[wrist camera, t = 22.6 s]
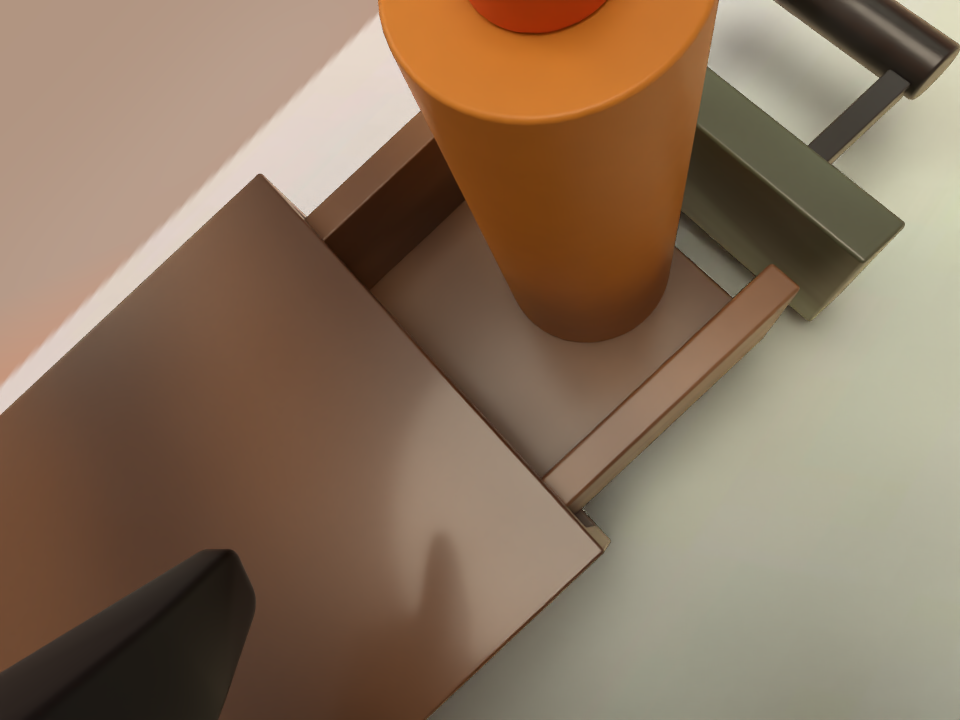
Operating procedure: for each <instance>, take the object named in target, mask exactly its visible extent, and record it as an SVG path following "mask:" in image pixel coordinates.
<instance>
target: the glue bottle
mask: <svg viewBox="0 0 960 720" xmlns="http://www.w3.org/2000/svg"><path fill="white" fill-rule="evenodd" d="M718 2H719V0H378V5H379V16H380V20H381V24H382V28H383V33H384V35H385V38H386V40H387V43H388V45H389V48H390V50H391V52H392V54H393V56H394V58H395V60H396V62H397V64H398V66H399V68H400V70H401V72H402V74H403V76H404V78H405V80H406V82H407V84H408V86H409V88H410V90H411V92H412V94H413V96H414V98H415V100H416V102H417V104H418V106H419V108H420V110H421V112H422V114H423V116H424V118H425V120H426V122H427V124H428V126H429V128H430V130H431V132H432V134H433V136H434V138H435V140H436V142H437V144H438V146H439V148H440V150H441V152H442V154H443V156H444V158H445V160H446V162H447V164H448V166H449V168H450V170H451V172H452V174H453V176H454V178H455V180H456V182H457V184H458V186H459V188H460V190H461V192H462V194H463V196H464V198H465V200H466V202H467V204H468V206H469V208H470V210H471V212H472V214H473V216H474V218H475V220H476V222H477V224H478V226H479V228H480V230H481V232H482V234H483V236H484V238H485V240H486V242H487V244H488V246H489V248H490V250H491V252H492V254H493V256H494V258H495V260H496V262H497V264H498V266H499V268H500V270H501V272H502V274H503V276H504V278H505V280H506V282H507V284H508V286H509V288H510V290H511V292H512V294H513V296H514V298H515V300H516V302H517V303H518V305H519V307H520V308H521V310H522V311H523V312H524V314H525V315H526V316H527V317H528V318H529V319H530V320H531V321H532V322H533V323H534V324H535V325H536V326H538V327H539V328H540V329H542V330H543V331H545V332H547V333H549V334H551V335H553V336H556V337H558V338H561V339H564V340H568V341H574V342H599V341H605V340H609V339H612V338H615V337H618V336H620V335H623V334H625V333H627V332H628V331H630V330H632V329H634V328H635V327H636V326H638V325H639V324H640V323H642V322H643V321H644V320H645V319H646V318H647V317H648V316H649V315H650V314H651V313H652V311H653V310H654V309H655V308H656V306H657V305H658V303H659V301H660V300H661V298H662V296H663V294H664V291H665V289H666V286H667V282H668V278H669V273H670V268H671V262H672V257H673V251H674V246H675V240H676V235H677V229H678V224H679V218H680V213H681V207H682V202H683V196H684V190H685V185H686V179H687V174H688V168H689V163H690V157H691V152H692V146H693V141H694V135H695V130H696V124H697V119H698V113H699V107H700V102H701V96H702V91H703V85H704V80H705V74H706V69H707V63H708V58H709V52H710V47H711V41H712V36H713V30H714V24H715V19H716V13H717V8H718Z"/></svg>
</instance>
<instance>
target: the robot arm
mask: <svg viewBox="0 0 960 720" xmlns="http://www.w3.org/2000/svg"><path fill="white" fill-rule="evenodd" d="M255 608H256V596H255V591H254V588H253V586H252V584H251V582H250V580H249V577H248V575H247V573H246V571H245V569H244V566H243V564H242V562H241V560H240V558H239V556H238V554H237V553H236V552H235V551H234V550H231V549H205V550H202V551H200V552H198V553H196V554H195V555H193V556H191V557H190V558H188V559H186V560H185V561H183V562H181V563H180V564H178V565H176V566H175V567H173V568H172V569H170V570H168V571H167V572H165V573H163V574H162V575H160V576H158V577H157V578H155V579H153V580H152V581H150V582H149V583H147V584H145V585H144V586H142V587H140V588H139V589H137V590H135V591H134V592H132V593H130V594H129V595H127V596H126V597H124V598H122V599H121V600H119V601H117V602H116V603H114V604H112V605H111V606H109V607H107V608H106V609H104V610H103V611H101V612H99V613H98V614H96V615H94V616H93V617H91V618H89V619H88V620H86V621H84V622H83V623H81V624H80V625H78V626H76V627H75V628H73V629H71V630H70V631H68V632H66V633H65V634H63V635H61V636H60V637H58V638H57V639H55V640H53V641H52V642H50V643H48V644H47V645H45V646H43V647H42V648H40V649H38V650H37V651H35V652H34V653H32V654H30V655H29V656H27V657H25V658H24V659H22V660H20V661H19V662H17V663H15V664H14V665H12V666H11V667H9V668H7V669H6V670H4V671H2V672H1V673H0V720H218V719H219V716H220V714H221V711H222V708H223V706H224V703H225V700H226V697H227V694H228V691H229V688H230V685H231V683H232V680H233V677H234V674H235V671H236V668H237V665H238V662H239V659H240V656H241V653H242V650H243V647H244V644H245V641H246V638H247V635H248V632H249V629H250V626H251V623H252V620H253V617H254V614H255Z"/></svg>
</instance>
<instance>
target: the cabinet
mask: <svg viewBox="0 0 960 720" xmlns="http://www.w3.org/2000/svg"><path fill="white" fill-rule="evenodd" d="M306 217H307V216H306V215H305V214H304V213H303V212H301V211H300V210H299V209H298V208H297V207H296V206H295V205H294V204H293V203H292V202H291V201H290V200H289V199H288V198H287V197H286V196H285V195H284V194H282V193H281V192H280V191H279V190H278V189H277V188H276V187H275V186H274V185H273V184H272V183H271V182H270V181H269V180H268V179H267V178H266V177H265V176H264V175H262V174H258V175H257V176H256V177H255V178H254V179H253V180H252V181H250V182H249V183H248V184H247V185H246V186H245V187H244V188H243V189H242V190H241V191H240V192H239V193H238V194H237V195H235V196H234V197H233V198H232V199H231V200H230V201H229V202H228V203H227V204H226V205H225V206H224V207H223V208H222V209H220V210H219V211H218V212H217V213H216V214H215V215H214V216H213V217H212V218H211V219H210V220H209V221H208V222H207V223H206V224H204V225H203V226H202V227H201V228H200V229H199V230H198V231H197V232H196V233H195V234H194V235H193V236H192V237H191V238H189V239H188V240H187V241H186V242H185V243H184V244H183V245H182V246H181V247H180V248H179V249H178V250H177V251H176V252H174V253H173V254H172V255H171V256H170V257H169V258H168V259H167V260H166V261H165V262H164V263H163V264H162V265H161V266H159V267H158V268H157V269H156V270H155V271H154V272H153V273H152V274H151V275H150V276H149V277H148V278H147V279H146V280H144V281H143V282H142V283H141V284H140V285H139V286H138V287H137V288H136V289H135V290H134V291H133V292H132V293H131V294H130V295H128V296H127V297H126V298H125V299H124V300H123V301H122V302H121V303H120V304H119V305H118V306H117V307H116V308H115V309H113V310H112V311H111V312H110V313H109V314H108V315H107V316H106V317H105V318H104V319H103V320H102V321H101V322H100V323H98V324H97V325H96V326H95V327H94V328H93V329H92V330H91V331H90V332H89V333H88V334H87V335H86V336H85V337H83V338H82V339H81V340H80V341H79V342H78V343H77V344H76V345H75V346H74V347H73V348H72V349H71V350H70V351H68V352H67V353H66V354H65V355H64V356H63V357H62V358H61V359H60V360H59V361H58V362H57V363H56V364H55V365H53V366H52V367H51V368H50V369H49V370H48V371H47V372H46V373H45V374H44V375H43V376H42V377H41V378H40V379H39V380H37V381H36V382H35V383H34V384H33V385H32V386H31V387H30V388H29V389H28V390H27V391H26V392H25V393H24V394H22V395H21V396H20V397H19V398H18V399H17V400H16V401H15V402H14V403H13V404H12V405H11V406H10V407H9V408H7V409H6V410H5V411H4V412H3V413H2V414H1V415H0V673H1V672H2V671H4V670H6V669H7V668H9V667H11V666H12V665H14V664H15V663H17V662H19V661H20V660H22V659H24V658H25V657H27V656H29V655H30V654H32V653H34V652H35V651H37V650H38V649H40V648H42V647H43V646H45V645H47V644H48V643H50V642H52V641H53V640H55V639H57V638H58V637H60V636H61V635H63V634H65V633H66V632H68V631H70V630H71V629H73V628H75V627H76V626H78V625H80V624H81V623H83V622H84V621H86V620H88V619H89V618H91V617H93V616H94V615H96V614H98V613H99V612H101V611H103V610H104V609H106V608H107V607H109V606H111V605H112V604H114V603H116V602H117V601H119V600H121V599H122V598H124V597H126V596H127V595H129V594H130V593H132V592H134V591H135V590H137V589H139V588H140V587H142V586H144V585H145V584H147V583H149V582H150V581H152V580H153V579H155V578H157V577H158V576H160V575H162V574H163V573H165V572H167V571H168V570H170V569H172V568H173V567H175V566H176V565H178V564H180V563H181V562H183V561H185V560H186V559H188V558H190V557H191V556H193V555H195V554H196V553H198V552H200V551H202V550H205V549H231V550H234V551H235V552H236V553H237V554H238V556H239V558H240V560H241V562H242V564H243V566H244V569H245V571H246V573H247V575H248V577H249V580H250V582H251V584H252V586H253V588H254V591H255V596H256V608H255V614H254V617H253V620H252V623H251V626H250V629H249V632H248V635H247V638H246V641H245V644H244V647H243V650H242V653H241V656H240V659H239V662H238V665H237V668H236V671H235V674H234V677H233V680H232V683H231V685H230V688H229V691H228V694H227V697H226V700H225V703H224V706H223V708H222V711H221V714H220V716H219V719H218V720H426V719H427V718H429V717H430V716H431V715H432V714H433V713H434V712H435V711H436V710H437V709H438V708H439V707H440V706H441V705H442V704H443V703H445V702H446V701H447V700H448V699H449V698H450V697H451V696H452V695H453V694H454V693H455V692H456V691H457V690H458V689H459V688H460V687H462V686H463V685H464V684H465V683H466V682H467V681H468V680H469V679H470V678H471V677H472V676H473V675H474V674H475V673H476V672H478V671H479V670H480V669H481V668H482V667H483V666H484V665H485V664H486V663H487V662H488V661H489V660H490V659H491V658H492V657H494V656H495V655H496V654H497V653H498V652H499V651H500V650H501V649H502V648H503V647H504V646H505V645H506V644H507V643H508V642H510V641H511V640H512V639H513V638H514V637H515V636H516V635H517V634H518V633H519V632H520V631H521V630H522V629H523V628H524V627H525V626H527V625H528V624H529V623H530V622H531V621H532V620H533V619H534V618H535V617H536V616H537V615H538V614H539V613H540V612H541V611H543V610H544V609H545V608H546V607H547V606H548V605H549V604H550V603H551V602H552V601H553V600H554V599H555V598H556V597H557V596H559V595H560V594H561V593H562V592H563V591H564V590H565V589H566V588H567V587H568V586H569V585H570V584H571V583H572V582H573V581H574V580H576V579H577V578H578V577H579V576H580V575H581V574H582V573H583V572H584V571H585V570H586V569H587V568H588V567H589V566H590V565H592V564H593V563H594V562H595V561H596V560H597V559H598V558H599V557H600V556H601V555H602V554H603V553H604V551H605V550H606V548H607V547H608V545H609V544H610V542H611V541H610V539H609V538H608V537H607V536H606V535H605V534H604V532H603V531H602V530H601V529H600V528H599V527H598V526H597V525H596V524H595V523H594V522H593V520H592V519H591V518H590V517H589V516H588V515H587V514H586V513H585V512H584V511H583V510H582V509H581V510H580V511H578V512H577V513H576V514H575V515H574V514H573V513H572V512H571V511H570V509H569V508H568V507H567V506H566V505H565V504H564V503H563V502H562V501H561V500H560V499H559V497H558V496H557V495H556V494H555V493H554V492H553V491H552V490H551V489H550V488H549V486H548V485H547V484H546V483H545V482H544V481H543V480H542V479H541V478H540V477H539V476H538V474H537V473H536V472H535V471H534V470H533V469H532V468H531V467H530V466H529V465H528V463H527V462H526V461H525V460H524V459H523V458H522V457H521V456H520V455H519V454H518V453H517V451H516V450H515V449H514V448H513V447H512V446H511V445H510V444H509V443H508V442H507V440H506V439H505V438H504V437H503V436H502V435H501V434H500V433H499V432H498V431H497V429H496V428H495V427H494V426H493V425H492V424H491V423H490V422H489V421H488V420H487V419H486V417H485V416H484V415H483V414H482V413H481V412H480V411H479V410H478V409H477V408H476V406H475V405H474V404H473V403H472V402H471V401H470V400H469V399H468V398H467V397H466V396H465V394H464V393H463V392H462V391H461V390H460V389H459V388H458V387H457V386H456V385H455V383H454V382H453V381H452V380H451V379H450V378H449V377H448V376H447V375H446V374H445V373H444V371H443V370H442V369H441V368H440V367H439V366H438V365H437V364H436V363H435V362H434V360H433V359H432V358H431V357H430V356H429V355H428V354H427V353H426V352H425V351H424V350H423V348H422V347H421V346H420V345H419V344H418V343H417V342H416V341H415V340H414V339H413V337H412V336H411V335H410V334H409V333H408V332H407V331H406V330H405V329H404V328H403V327H402V325H401V324H400V323H399V322H398V321H397V320H396V319H395V318H394V317H393V316H392V314H391V313H390V312H389V311H388V310H387V309H386V308H385V307H384V306H383V305H382V304H381V302H380V301H379V300H378V299H377V298H376V297H375V296H374V295H373V294H372V293H371V291H370V290H369V289H368V288H367V287H366V286H365V285H364V284H363V283H362V282H361V280H360V279H359V278H358V277H357V276H356V275H355V274H354V273H353V272H352V271H351V270H350V268H349V267H348V266H347V265H346V264H345V263H344V262H343V261H342V260H341V259H340V257H339V256H338V255H337V254H336V253H335V252H334V251H333V250H332V249H331V248H330V247H329V245H328V244H327V243H326V242H325V241H324V240H323V239H322V238H321V237H320V236H319V234H318V233H317V232H316V231H315V230H314V229H313V228H312V227H311V226H310V225H309V224H308V222H307V221H306V220H305V218H306Z"/></svg>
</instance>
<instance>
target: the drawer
mask: <svg viewBox="0 0 960 720" xmlns="http://www.w3.org/2000/svg"><path fill="white" fill-rule="evenodd" d="M773 1H775V2H776V3H777V4H779V5H780V6H782V7H783V8H784V9H786V10H787V11H788V12H790V13H791V14H793V15H794V16H795V17H797V18H798V19H799V20H801V21H802V22H803V23H805V24H806V25H808V26H809V27H810V28H812V29H813V30H814V31H816V32H817V33H819V34H820V35H821V36H823V37H824V38H825V39H827V40H828V41H829V42H831V43H832V44H834V45H835V46H836V47H838V48H839V49H840V50H842V51H843V52H845V53H846V54H847V55H849V56H850V57H851V58H853V59H854V60H856V61H857V62H858V63H860V64H861V65H862V66H864V67H865V68H866V69H868V70H869V71H871V72H872V73H873V74H875V75H876V76H877V77H879V79H878V80H877V81H876V82H875V83H874V84H873V85H872V86H871V87H870V88H869V89H868V90H866V91H865V92H864V93H863V94H862V95H861V96H860V97H859V98H858V99H857V100H856V101H855V102H854V103H853V104H851V105H850V106H849V107H848V108H847V109H846V110H845V111H844V112H843V113H842V114H841V115H840V116H839V117H838V118H837V119H835V120H834V121H833V122H832V123H831V124H830V125H829V126H828V127H827V128H826V129H825V130H824V131H823V132H822V133H821V134H819V135H818V136H817V137H816V138H815V139H814V140H813V141H812V142H811V143H810V144H809V145H808V146H807V145H806V144H805V143H803V142H802V141H801V140H800V139H798V138H797V137H796V136H794V135H793V134H792V133H791V132H789V131H788V130H787V129H786V128H784V127H783V126H782V125H781V124H779V123H778V122H777V121H775V120H774V119H773V118H772V117H770V116H769V115H768V114H767V113H765V112H764V111H763V110H762V109H760V108H759V107H758V106H756V105H755V104H754V103H753V102H751V101H750V100H749V99H748V98H746V97H745V96H744V95H743V94H741V93H740V92H739V91H737V90H736V89H735V88H734V87H732V86H731V85H730V84H729V83H727V82H726V81H725V80H723V79H722V78H721V77H720V76H718V75H717V74H716V73H715V72H713V71H712V70H711V69H710V68H708V67H707V69H706V74H705V80H704V85H703V91H702V96H701V102H700V107H699V113H698V119H697V124H696V130H695V135H694V141H693V146H692V152H691V157H690V163H689V168H688V174H687V179H686V185H685V190H684V196H683V202H682V207H681V211H682V212H683V213H684V214H686V215H687V216H688V217H689V218H690V219H691V220H692V221H694V222H695V223H696V224H697V225H698V226H699V227H700V228H702V229H703V230H704V231H705V232H706V233H707V234H708V235H710V236H711V237H712V238H713V239H714V240H715V241H716V242H718V243H719V244H720V245H721V246H722V247H723V248H724V249H726V250H727V251H728V252H729V253H730V254H731V255H732V256H734V257H735V258H736V259H737V260H738V261H739V262H740V263H742V264H743V265H744V266H745V267H746V268H747V269H748V270H750V271H751V272H752V273H753V274H754V275H755V276H756V277H755V278H754V279H753V280H752V281H751V282H750V283H749V284H748V285H747V286H745V287H744V288H743V289H742V290H741V291H740V292H739V293H738V294H737V295H736V296H735V297H734V298H732V297H731V296H730V295H729V294H728V293H727V292H726V291H725V290H723V289H722V288H721V287H720V286H719V285H718V284H717V283H716V282H715V281H713V280H712V279H711V278H710V277H709V276H708V275H707V274H706V273H705V272H703V271H702V270H701V269H700V268H699V267H698V266H697V265H696V264H694V263H693V262H692V261H691V260H690V259H689V258H688V257H687V256H686V255H684V254H683V253H682V252H681V251H680V250H679V249H678V248H677V247H676V246H674V251H673V257H672V262H671V268H670V273H669V278H668V282H667V286H666V289H665V291H664V294H663V296H662V298H661V300H660V301H659V303H658V305H657V306H656V308H655V309H654V310H653V311H652V313H651V314H650V315H649V316H648V317H647V318H646V319H645V320H644V321H643V322H642V323H640V324H639V325H638V326H636V327H635V328H634V329H632V330H630V331H628V332H627V333H625V334H623V335H620V336H618V337H615V338H612V339H609V340H605V341H599V342H574V341H568V340H564V339H561V338H558V337H556V336H553V335H551V334H549V333H547V332H545V331H543V330H542V329H540V328H539V327H538V326H536V325H535V324H534V323H533V322H532V321H531V320H530V319H529V318H528V317H527V316H526V315H525V314H524V312H523V311H522V310H521V308H520V307H519V305H518V303H517V302H516V300H515V298H514V296H513V294H512V292H511V290H510V288H509V286H508V284H507V282H506V280H505V278H504V276H503V274H502V272H501V270H500V268H499V266H498V264H497V262H496V260H495V258H494V256H493V254H492V252H491V250H490V248H489V246H488V244H487V242H486V240H485V238H484V236H483V234H482V232H481V230H480V228H479V226H478V224H477V222H476V220H475V218H474V216H473V214H472V212H471V210H470V208H469V206H468V204H467V202H466V200H465V198H464V196H463V194H462V192H461V190H460V188H459V186H458V184H457V182H456V180H455V178H454V176H453V174H452V172H451V170H450V168H449V166H448V164H447V162H446V160H445V158H444V156H443V154H442V152H441V150H440V148H439V146H438V144H437V142H436V140H435V138H434V136H433V134H432V132H431V130H430V128H429V126H428V124H427V122H426V120H425V118H424V116H423V114H422V112H421V111H420V112H419V113H418V114H417V115H416V116H414V117H413V118H412V119H411V120H410V121H409V122H408V123H407V124H406V125H405V126H404V127H403V128H402V129H401V130H399V131H398V132H397V133H396V134H395V135H394V136H393V137H392V138H391V139H390V140H389V141H388V142H387V143H386V144H385V145H383V146H382V147H381V148H380V149H379V150H378V151H377V152H376V153H375V154H374V155H373V156H372V157H371V158H370V159H368V160H367V161H366V162H365V163H364V164H363V165H362V166H361V167H360V168H359V169H358V170H357V171H356V172H355V173H353V174H352V175H351V176H350V177H349V178H348V179H347V180H346V181H345V182H344V183H343V184H342V185H341V186H340V187H339V188H337V189H336V190H335V191H334V192H333V193H332V194H331V195H330V196H329V197H328V198H327V199H326V200H325V201H324V202H322V203H321V204H320V205H319V206H318V207H317V208H316V209H315V210H314V211H313V212H312V213H311V214H310V215H309V216H307V217H306V218H305V220H306V221H307V222H308V224H309V225H310V226H311V227H312V228H313V229H314V230H315V231H316V232H317V233H318V234H319V236H320V237H321V238H322V239H323V240H324V241H325V242H326V243H327V244H328V245H329V247H330V248H331V249H332V250H333V251H334V252H335V253H336V254H337V255H338V256H339V257H340V259H341V260H342V261H343V262H344V263H345V264H346V265H347V266H348V267H349V268H350V270H351V271H352V272H353V273H354V274H355V275H356V276H357V277H358V278H359V279H360V280H361V282H362V283H363V284H364V285H365V286H366V287H367V288H368V289H369V290H370V291H371V293H372V294H373V295H374V296H375V297H376V298H377V299H378V300H379V301H380V302H381V304H382V305H383V306H384V307H385V308H386V309H387V310H388V311H389V312H390V313H391V314H392V316H393V317H394V318H395V319H396V320H397V321H398V322H399V323H400V324H401V325H402V327H403V328H404V329H405V330H406V331H407V332H408V333H409V334H410V335H411V336H412V337H413V339H414V340H415V341H416V342H417V343H418V344H419V345H420V346H421V347H422V348H423V350H424V351H425V352H426V353H427V354H428V355H429V356H430V357H431V358H432V359H433V360H434V362H435V363H436V364H437V365H438V366H439V367H440V368H441V369H442V370H443V371H444V373H445V374H446V375H447V376H448V377H449V378H450V379H451V380H452V381H453V382H454V383H455V385H456V386H457V387H458V388H459V389H460V390H461V391H462V392H463V393H464V394H465V396H466V397H467V398H468V399H469V400H470V401H471V402H472V403H473V404H474V405H475V406H476V408H477V409H478V410H479V411H480V412H481V413H482V414H483V415H484V416H485V417H486V419H487V420H488V421H489V422H490V423H491V424H492V425H493V426H494V427H495V428H496V429H497V431H498V432H499V433H500V434H501V435H502V436H503V437H504V438H505V439H506V440H507V442H508V443H509V444H510V445H511V446H512V447H513V448H514V449H515V450H516V451H517V453H518V454H519V455H520V456H521V457H522V458H523V459H524V460H525V461H526V462H527V463H528V465H529V466H530V467H531V468H532V469H533V470H534V471H535V472H536V473H537V474H538V476H539V477H540V478H541V479H542V480H543V481H544V482H545V483H546V484H547V485H548V486H549V488H550V489H551V490H552V491H553V492H554V493H555V494H556V495H557V496H558V497H559V499H560V500H561V501H562V502H563V503H564V504H565V505H566V506H567V507H568V508H569V509H570V511H571V512H572V513H573V514H574V515H575V514H576V513H577V512H578V511H580V510H581V509H582V508H583V507H584V506H585V505H586V504H587V503H588V502H589V501H590V500H591V499H592V498H593V497H594V496H596V495H597V494H598V493H599V492H600V491H601V490H602V489H603V488H604V487H605V486H606V485H607V484H608V483H609V482H610V481H611V480H613V479H614V478H615V477H616V476H617V475H618V474H619V473H620V472H621V471H622V470H623V469H624V468H625V467H626V466H627V465H629V464H630V463H631V462H632V461H633V460H634V459H635V458H636V457H637V456H638V455H639V454H640V453H641V452H642V451H643V450H645V449H646V448H647V447H648V446H649V445H650V444H651V443H652V442H653V441H654V440H655V439H656V438H657V437H658V436H659V435H661V434H662V433H663V432H664V431H665V430H666V429H667V428H668V427H669V426H670V425H671V424H672V423H673V422H674V421H675V420H677V419H678V418H679V417H680V416H681V415H682V414H683V413H684V412H685V411H686V410H687V409H688V408H689V407H690V406H691V405H692V404H694V403H695V402H696V401H697V400H698V399H699V398H700V397H701V396H702V395H703V394H704V393H705V392H706V391H707V390H708V389H710V388H711V387H712V386H713V385H714V384H715V383H716V382H717V381H718V380H719V379H720V378H721V377H722V376H723V375H724V374H726V373H727V372H728V371H729V370H730V369H731V368H732V367H733V366H734V365H735V364H736V363H737V362H738V361H739V360H740V359H742V358H743V357H744V356H745V355H746V354H747V353H748V352H749V351H750V350H751V349H752V348H753V347H754V346H755V345H756V344H758V343H759V342H760V341H761V340H762V339H763V337H764V336H765V335H766V334H767V332H768V331H769V329H770V328H771V327H772V326H773V324H774V323H775V322H776V320H777V319H778V318H779V316H780V315H781V314H782V312H783V311H784V310H785V309H786V307H787V306H788V305H790V306H791V307H792V308H793V309H794V310H795V311H796V312H798V313H799V314H800V315H801V316H802V317H803V318H804V319H806V320H807V321H812V320H813V319H814V318H815V317H816V316H817V315H818V314H819V313H820V312H821V311H822V310H823V309H825V308H826V307H827V306H828V305H829V304H830V303H831V302H832V301H833V300H834V299H835V298H836V297H837V296H838V295H839V294H841V293H842V292H843V290H844V289H845V288H846V287H847V286H848V285H849V284H850V283H851V282H852V281H853V280H854V279H855V278H856V277H857V276H858V275H859V274H860V273H861V272H862V271H863V270H864V269H865V267H866V266H867V265H868V264H869V263H870V262H871V261H872V260H873V259H874V258H875V257H876V256H877V255H878V254H879V253H880V252H881V251H882V250H883V249H884V248H885V247H886V246H887V244H888V243H889V242H890V241H891V240H892V239H893V238H894V237H895V236H896V235H897V234H898V233H899V232H900V231H901V230H902V229H903V228H904V226H905V223H904V222H903V221H902V220H901V219H900V218H898V217H897V216H896V215H895V214H893V213H892V212H891V211H889V210H888V209H887V208H886V207H884V206H883V205H882V204H881V203H879V202H878V201H877V200H876V199H874V198H873V197H872V196H870V195H869V194H868V193H867V192H865V191H864V190H863V189H862V188H860V187H859V186H858V185H857V184H855V183H854V182H853V181H851V180H850V179H849V178H848V177H846V176H845V175H844V174H843V173H841V172H840V171H839V170H838V169H836V168H835V167H834V166H832V165H831V164H832V163H833V162H834V161H835V160H836V159H837V158H838V157H839V156H840V155H842V154H843V153H844V152H845V151H846V150H847V149H848V148H849V147H850V146H851V145H852V144H853V143H854V142H855V141H856V140H858V139H859V138H860V137H861V136H862V135H863V134H864V133H865V132H866V131H867V130H868V129H869V128H870V127H871V126H872V125H874V124H875V123H876V122H877V121H878V120H879V119H880V118H881V117H882V116H883V115H884V114H885V113H886V112H887V111H888V110H890V109H891V108H892V107H893V106H894V105H895V104H896V103H897V102H898V101H899V100H900V99H901V98H902V97H903V96H905V97H906V98H908V99H910V100H913V99H915V98H917V97H918V96H920V95H921V94H922V93H923V92H924V91H925V90H927V89H928V88H929V87H930V86H931V85H932V84H933V83H934V82H935V81H936V80H937V79H938V77H939V76H940V75H941V74H942V73H943V72H944V71H945V70H946V69H947V67H948V66H949V65H950V64H951V63H952V61H953V60H954V59H955V57H956V56H957V55H958V53H959V51H960V45H959V44H958V43H957V42H955V41H954V40H952V39H951V38H949V37H948V36H946V35H945V34H943V33H942V32H941V31H939V30H938V29H936V28H935V27H933V26H932V25H930V24H929V23H927V22H926V21H925V20H923V19H922V18H920V17H919V16H917V15H916V14H914V13H913V12H911V11H910V10H909V9H907V8H906V7H904V6H903V5H901V4H900V3H898V2H897V1H895V0H773Z"/></svg>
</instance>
